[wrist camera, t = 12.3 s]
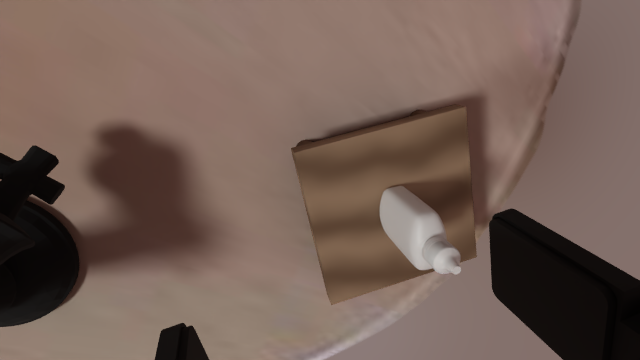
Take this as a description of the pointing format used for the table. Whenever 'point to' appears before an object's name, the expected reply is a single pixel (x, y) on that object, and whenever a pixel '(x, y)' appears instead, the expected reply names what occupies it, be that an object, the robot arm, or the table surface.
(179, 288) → the table surface
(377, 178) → the walnut stool
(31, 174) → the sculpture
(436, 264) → the eye dropper bottle
